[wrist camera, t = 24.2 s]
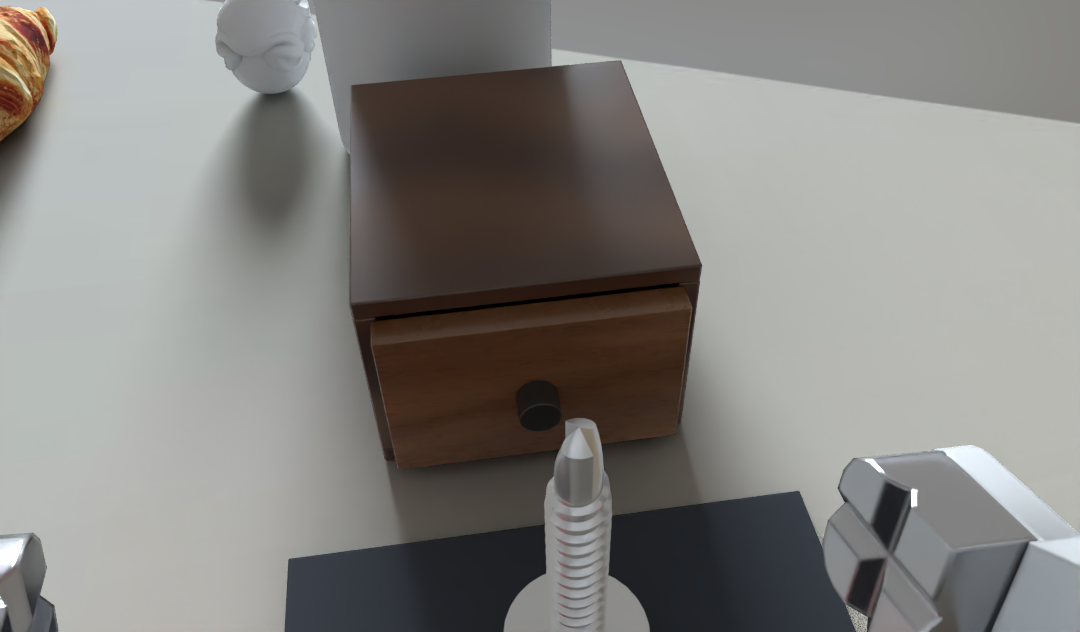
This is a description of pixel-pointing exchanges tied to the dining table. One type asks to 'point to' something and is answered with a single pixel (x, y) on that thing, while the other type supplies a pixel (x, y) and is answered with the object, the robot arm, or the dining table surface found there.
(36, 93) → the croissant
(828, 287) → the dining table surface
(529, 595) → the screw
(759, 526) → the mat
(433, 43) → the cylinder vase
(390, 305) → the cabinet
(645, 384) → the drawer
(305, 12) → the frog figurine
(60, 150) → the dining table surface
